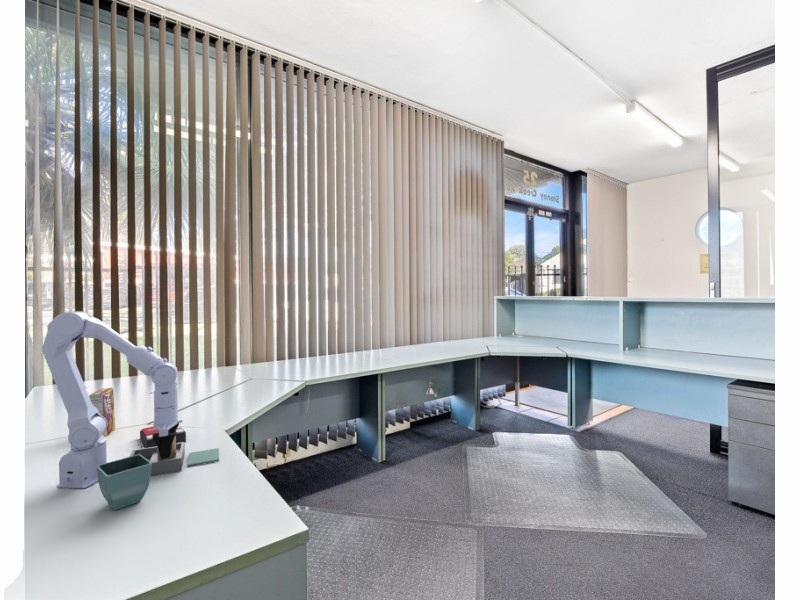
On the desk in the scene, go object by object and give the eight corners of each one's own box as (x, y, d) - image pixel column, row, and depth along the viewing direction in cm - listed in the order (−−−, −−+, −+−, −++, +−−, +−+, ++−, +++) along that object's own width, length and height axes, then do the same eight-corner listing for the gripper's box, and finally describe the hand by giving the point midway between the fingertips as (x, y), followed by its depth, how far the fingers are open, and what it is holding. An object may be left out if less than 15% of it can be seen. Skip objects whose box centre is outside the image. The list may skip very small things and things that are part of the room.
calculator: (176, 420, 136) (186, 429, 125) (176, 432, 136) (186, 442, 125) (139, 428, 129) (146, 438, 118) (139, 440, 129) (146, 452, 118)
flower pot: (140, 489, 95) (139, 453, 94) (153, 500, 89) (152, 462, 89) (96, 504, 88) (95, 465, 88) (107, 518, 82) (106, 476, 82)
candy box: (101, 430, 137) (100, 388, 137) (115, 429, 138) (114, 387, 138) (89, 439, 128) (88, 394, 128) (104, 438, 130) (103, 393, 129)
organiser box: (123, 481, 98) (123, 468, 98) (133, 462, 110) (133, 449, 110) (181, 470, 104) (181, 458, 104) (184, 453, 116) (184, 441, 116)
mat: (187, 466, 107) (187, 464, 107) (189, 454, 115) (189, 452, 115) (219, 461, 110) (219, 459, 110) (218, 449, 118) (218, 447, 118)
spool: (169, 461, 106) (168, 439, 106) (153, 460, 106) (153, 439, 106) (179, 454, 110) (179, 433, 110) (164, 454, 111) (164, 433, 111)
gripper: (180, 410, 103) (181, 460, 103) (183, 398, 116) (184, 442, 117) (149, 414, 100) (150, 465, 100) (156, 401, 113) (157, 446, 113)
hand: (166, 453), depth 108 cm, fingers open, 6 cm apart
